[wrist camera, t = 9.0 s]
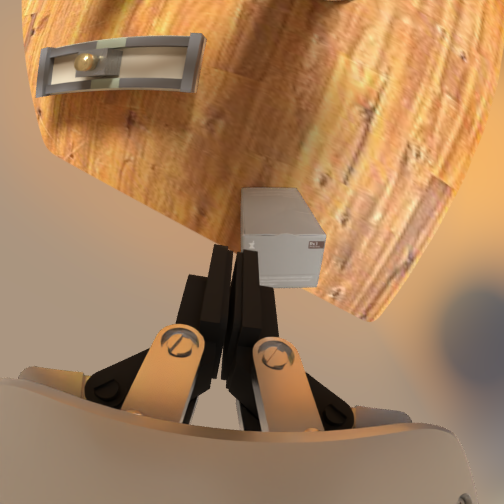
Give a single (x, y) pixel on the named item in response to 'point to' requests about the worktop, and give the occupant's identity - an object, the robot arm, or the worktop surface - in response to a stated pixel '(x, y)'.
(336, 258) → the worktop surface
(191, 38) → the stand
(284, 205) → the skincare box
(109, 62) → the rider
